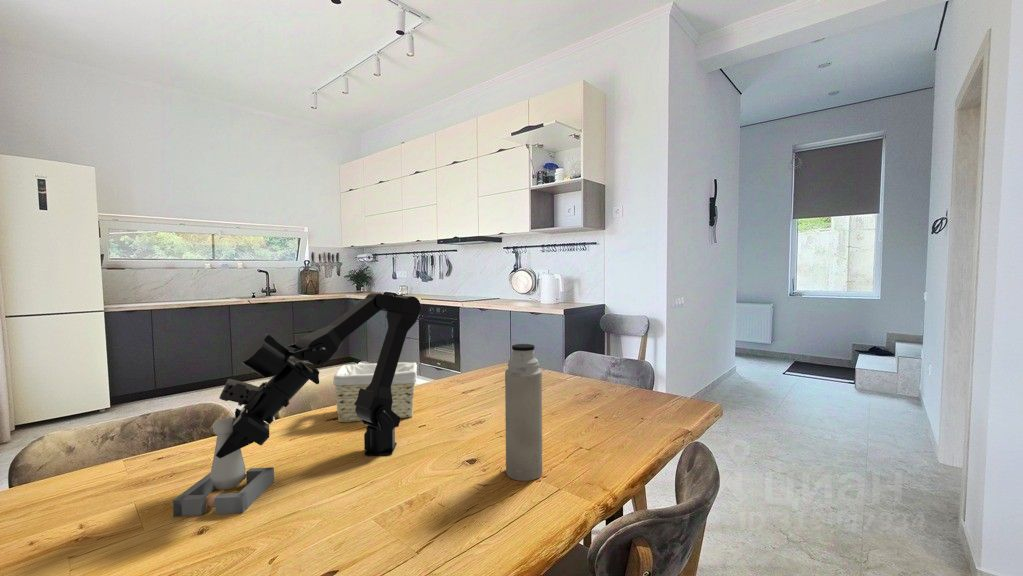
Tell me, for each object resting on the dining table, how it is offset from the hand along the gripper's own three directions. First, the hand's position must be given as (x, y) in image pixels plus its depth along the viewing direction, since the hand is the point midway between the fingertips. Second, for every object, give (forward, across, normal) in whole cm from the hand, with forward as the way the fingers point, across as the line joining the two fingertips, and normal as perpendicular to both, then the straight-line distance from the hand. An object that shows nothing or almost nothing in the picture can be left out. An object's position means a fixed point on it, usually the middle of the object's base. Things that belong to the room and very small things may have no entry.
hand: (218, 453), depth 82 cm
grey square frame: (+6, 0, +7) cm, 9 cm away
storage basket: (-20, -36, +34) cm, 54 cm away
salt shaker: (+4, 0, +6) cm, 7 cm away
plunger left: (+6, +4, +5) cm, 9 cm away
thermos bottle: (-33, +21, +47) cm, 61 cm away
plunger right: (+3, -4, +8) cm, 10 cm away
